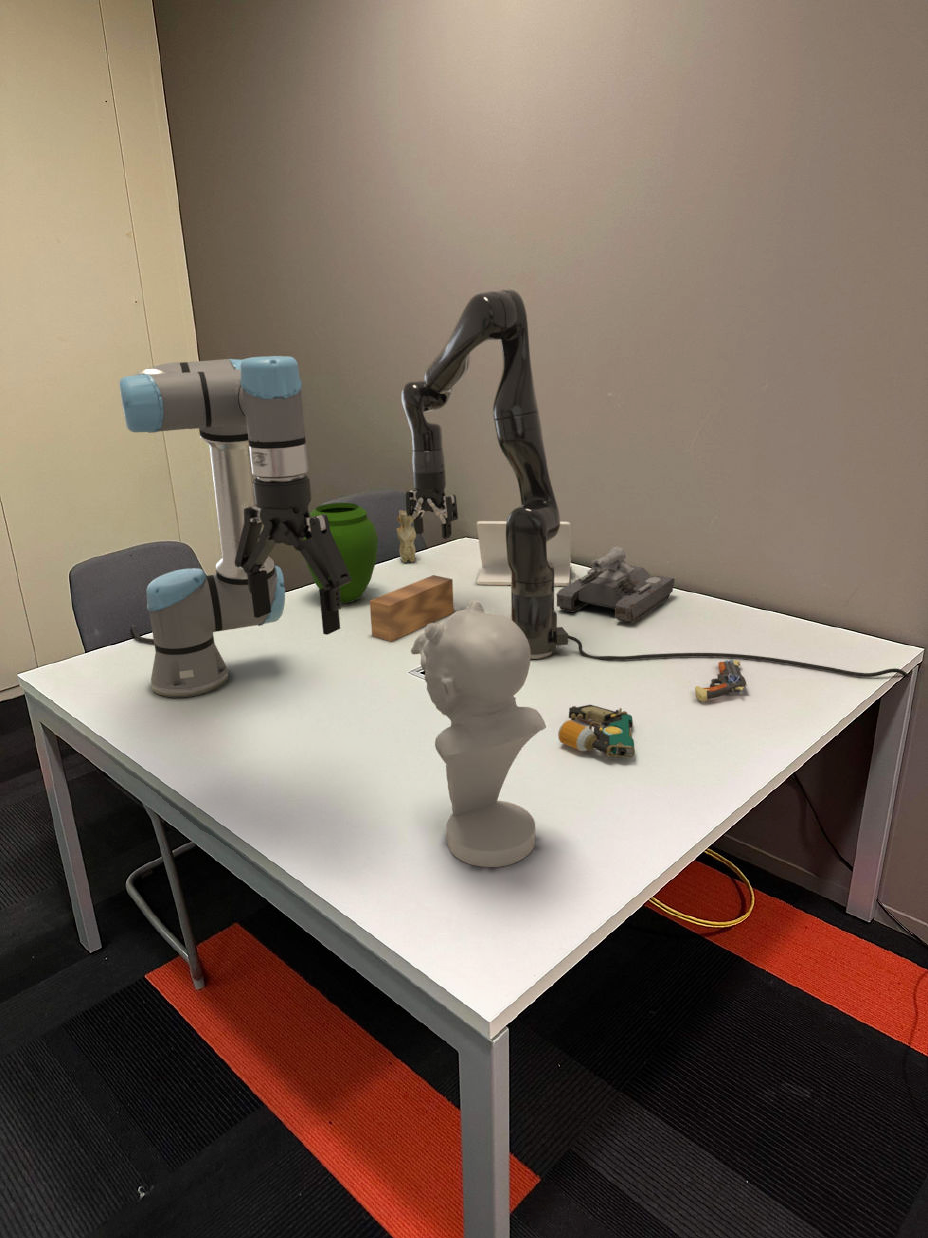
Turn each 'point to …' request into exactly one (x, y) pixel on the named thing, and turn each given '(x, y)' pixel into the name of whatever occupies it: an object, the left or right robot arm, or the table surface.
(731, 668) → the toy gun
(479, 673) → the bust sculpture
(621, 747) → the spray gun
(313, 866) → the table surface
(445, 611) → the box
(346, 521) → the vase
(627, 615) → the toy
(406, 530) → the sculpture
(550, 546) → the tablet stand
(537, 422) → the right robot arm
